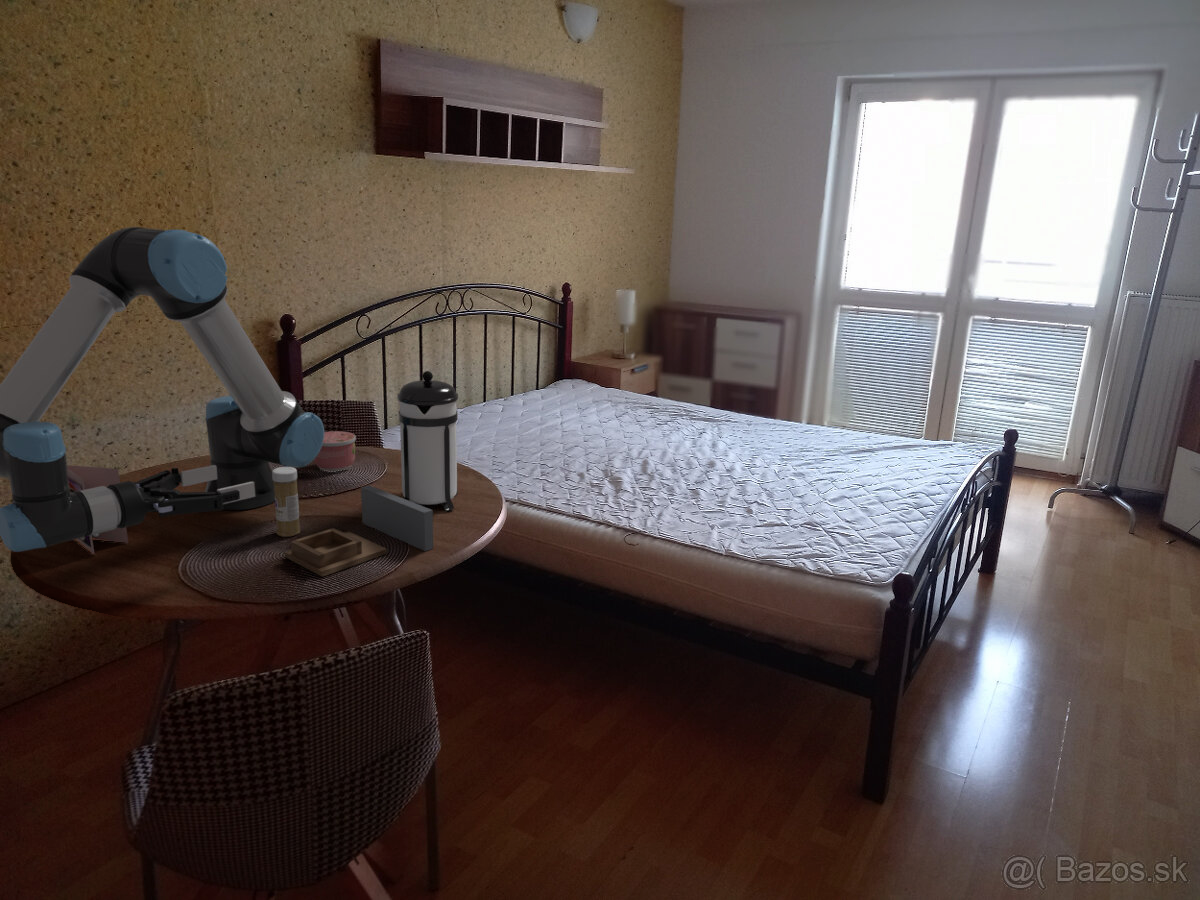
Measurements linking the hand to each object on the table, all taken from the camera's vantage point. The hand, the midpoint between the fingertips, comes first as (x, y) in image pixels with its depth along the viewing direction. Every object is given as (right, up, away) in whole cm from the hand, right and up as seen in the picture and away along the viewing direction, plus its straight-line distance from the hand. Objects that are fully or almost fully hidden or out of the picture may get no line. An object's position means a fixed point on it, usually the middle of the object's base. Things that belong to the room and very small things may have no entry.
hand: (234, 480), depth 154 cm
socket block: (+18, -15, +2) cm, 23 cm away
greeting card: (-27, -12, +4) cm, 30 cm away
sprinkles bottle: (+6, -11, +12) cm, 17 cm away
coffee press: (+29, -6, +33) cm, 44 cm away
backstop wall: (+27, -12, +13) cm, 32 cm away
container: (+2, +1, +52) cm, 52 cm away
